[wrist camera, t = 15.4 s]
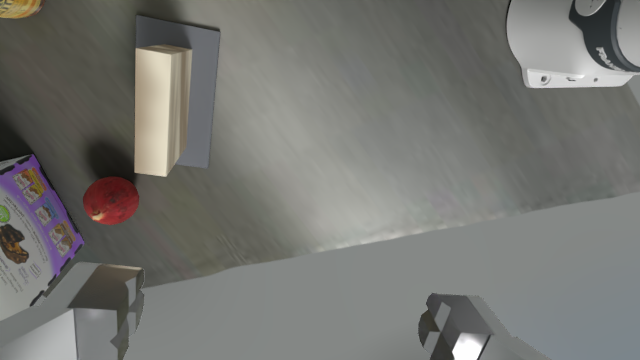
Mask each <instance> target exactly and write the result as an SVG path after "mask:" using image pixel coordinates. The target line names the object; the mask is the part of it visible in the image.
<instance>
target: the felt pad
mask: <svg viewBox="0 0 640 360" xmlns="http://www.w3.org/2000/svg"><path fill="white" fill-rule="evenodd" d="M219 42H220V32H218V31H213V30H208V29H203V28H198V27H193V26H189V25H184V24H179V23H174V22H169V21H164V20H159V19H155V18H150V17H145V16H140V15H136V48H140V47H148V46H156V45H163V44H166V45H172V46H177V47H182V48H187V49H192V64H191V80H190V96H189V112H188V127H187V143H186V148H185V150H184V151H183V153H182V154H181V156H180V157H179V159H178V160H177V161H176V163H175V164H178V165H185V166H193V167H201V168H208V166H209V155H210V144H211V132H212V121H213V110H214V98H215V87H216V76H217V64H218V53H219Z"/></svg>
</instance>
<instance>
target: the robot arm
mask: <svg viewBox="0 0 640 360" xmlns="http://www.w3.org/2000/svg"><path fill="white" fill-rule="evenodd" d="M507 37H508V42H509V45H510V48H511V50H512V52H513V54H514V56H515V57H516V59H517V60H518V62H519V63H520V65H521V68H522V76H523V81H524V84H525V85H526V86H527V87H529V88H560V87H612V86H622V85H623V84H625V83H626V82H627V81H628V80H629V79H630V78H631V77H632V76H633V75H640V0H512V1H511V4H510V7H509V11H508V17H507ZM542 77H543V80H542V81H541V78H542ZM144 281H145V277H144V269H143V268H138V267H129V266H119V265H110V264H99V263H88V262H79V263H77V264H75V265H74V266H73V267H72V269H71V270H70V271H69V272H68V273H67V274H66V276H65V277H64V278H63V279H62V280H61V281H60V283H59V284H58V285H57V286H56V287H55V288H54V290H53V291H52V292H51V293H50V294H49V296H48V297H47V298H46V299H45V300H44V301H43V303H42V304H41V305H40V306H31V307H29V308H27V309H25V310H23V311H20V312H18V313H16V314H14V315H12V316H10V317H8V318H6V319H4V320H1V321H0V360H123V358H124V356H125V354H126V352H127V349H128V347H129V336H130V335H132V334H133V333H135V332H136V330H137V327H138V325H139V323H140V319H141V316H142V312H143V306H144V294H143V293H142V291H141V290H140V289H141V287H142V285H143V283H144ZM426 305H427V307H428V310H427V311H426V312H425V313H423V314H422V315H421V318H420V321H419V324H418V334H419V339H420V342H421V344H422V347H423V348H424V349H425V350H426V351H427V352H429V353H430V354H431V357H430V360H551V359H549V358H548V357H546V356H545V355H543V354H542V353H540V352H539V351H537V350H536V349H534V348H533V347H531V346H530V345H528V344H527V343H525V342H524V341H522V340H520V339H519V338H518V337H512V336H511V335H510V333H509V332H508V331H507V329H506V328H505V327H504V325H503V324H502V323H501V322H500V320H499V319H498V318H497V317H496V315H495V314H494V313H493V311H492V310H491V309H490V307H489V306H488V305H487V304H486V302H485V301H484V300H483V299H482V298H481V297H479V296H472V295H451V294H437V293H432V294H431V295H430V296H429V297H428V300H427V302H426Z"/></svg>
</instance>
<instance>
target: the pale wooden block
mask: <svg viewBox="0 0 640 360" xmlns="http://www.w3.org/2000/svg"><path fill="white" fill-rule="evenodd" d="M191 64H192V49H187V48H182V47H177V46H172V45H166V44H163V45H156V46H148V47H140V48H136V69H135V173H141V174H150V175H158V176H167V174H168V173H169V172H170V170H171V169H172V167H173V166H174V164H175V163H176V161H177V160H178V159H179V157H180V156H181V154H182V153H183V151H184V150H185V148H186V143H187V127H188V112H189V96H190V80H191Z"/></svg>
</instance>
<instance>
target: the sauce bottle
mask: <svg viewBox="0 0 640 360" xmlns="http://www.w3.org/2000/svg"><path fill="white" fill-rule="evenodd" d="M44 2H45V0H0V17H4V18H22V17H28V16H32V15H35V14H36V13H37V12H39V11H40V9H41V8H42V7H43V5H44Z"/></svg>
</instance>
